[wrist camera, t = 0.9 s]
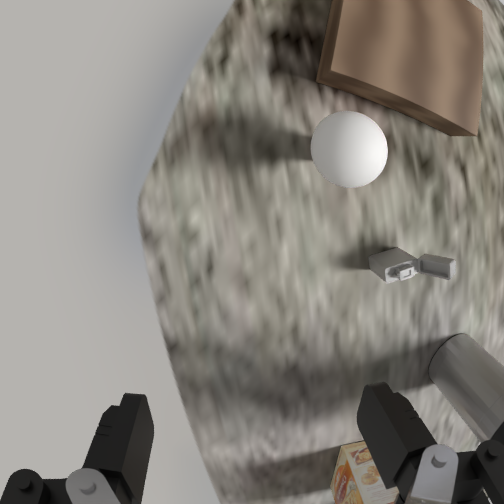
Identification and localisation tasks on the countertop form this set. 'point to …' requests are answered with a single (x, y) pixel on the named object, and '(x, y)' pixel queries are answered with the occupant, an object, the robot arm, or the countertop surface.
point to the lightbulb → (349, 149)
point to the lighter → (409, 265)
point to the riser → (409, 58)
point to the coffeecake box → (359, 478)
